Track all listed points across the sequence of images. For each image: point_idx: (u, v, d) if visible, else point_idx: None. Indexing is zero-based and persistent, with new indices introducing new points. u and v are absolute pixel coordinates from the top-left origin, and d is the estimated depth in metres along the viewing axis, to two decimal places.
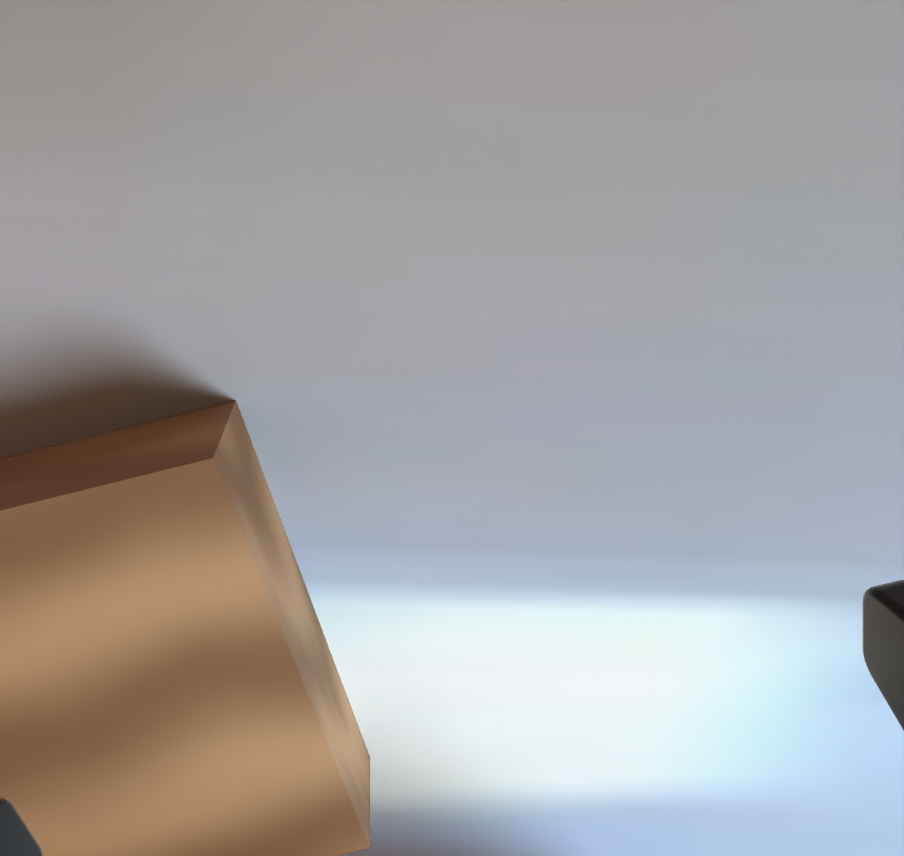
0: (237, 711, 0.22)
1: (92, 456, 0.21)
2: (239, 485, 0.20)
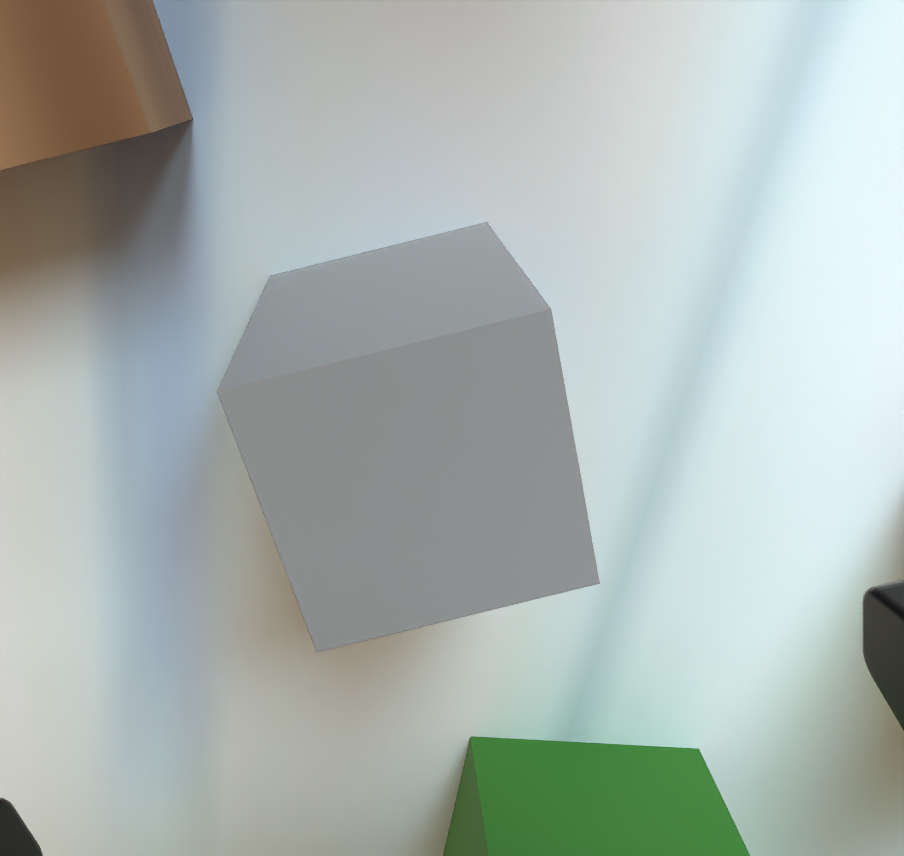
0: None
1: None
2: None
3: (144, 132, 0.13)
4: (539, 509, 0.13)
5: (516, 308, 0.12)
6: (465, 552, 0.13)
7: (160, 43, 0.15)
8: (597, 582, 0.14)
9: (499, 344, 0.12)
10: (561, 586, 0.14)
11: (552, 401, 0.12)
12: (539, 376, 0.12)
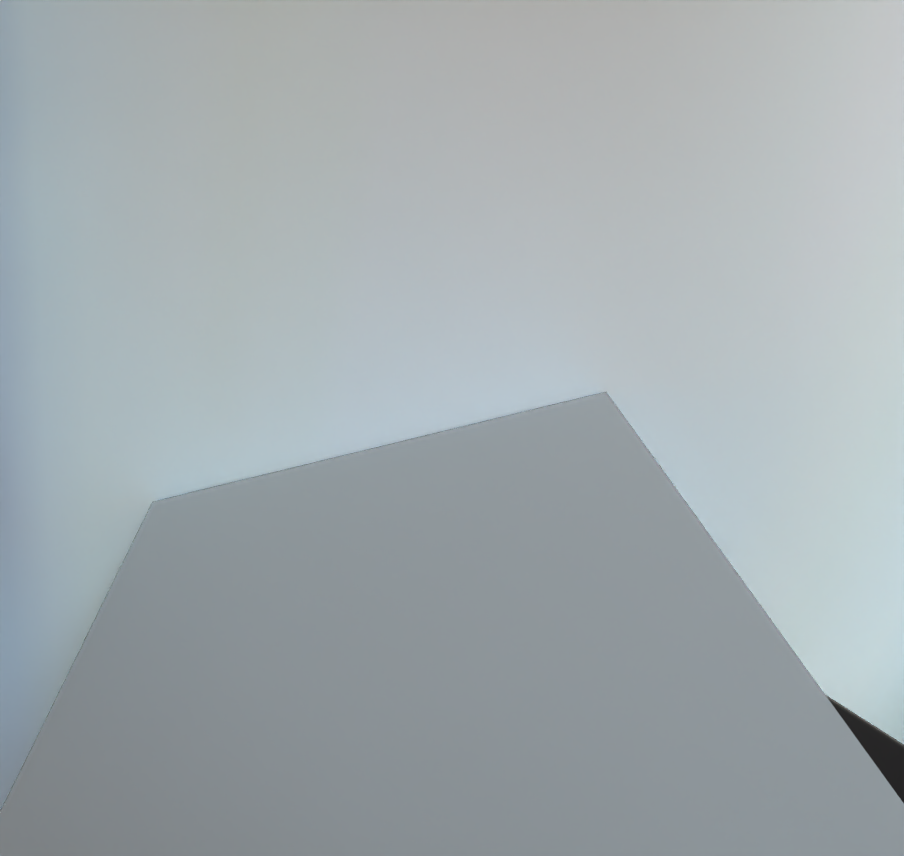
0: None
1: None
2: None
3: None
4: None
5: None
6: None
7: None
8: None
9: None
10: None
11: None
12: None
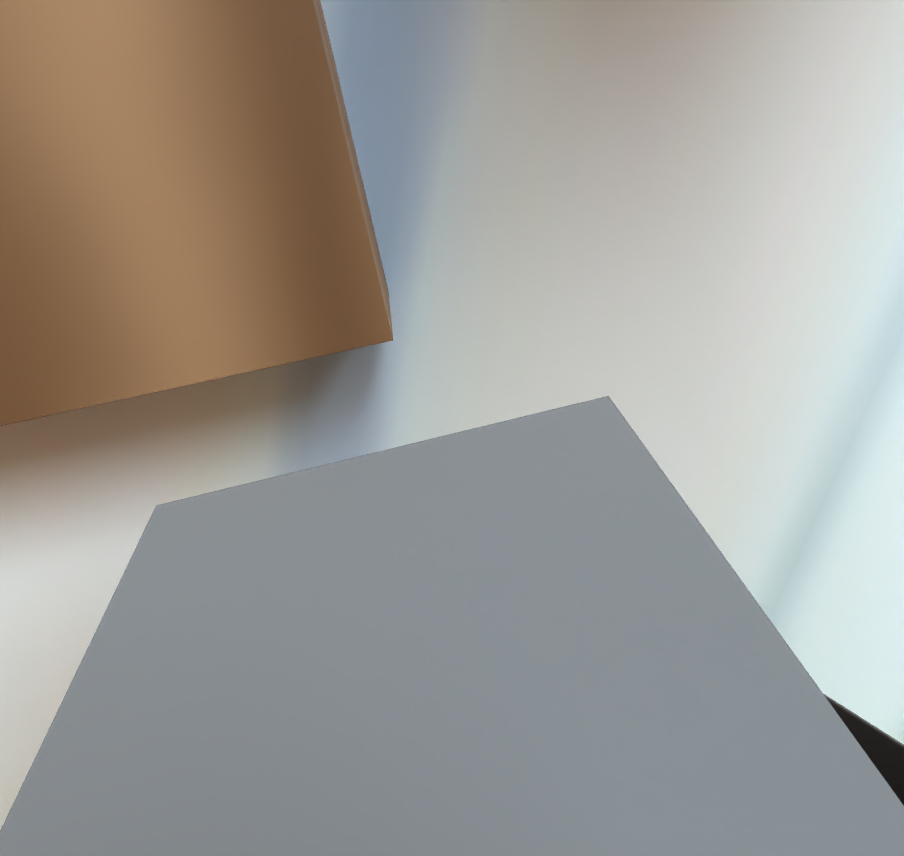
0: None
1: None
2: None
3: (386, 339, 0.15)
4: None
5: None
6: None
7: (373, 232, 0.17)
8: None
9: None
10: None
11: None
12: None
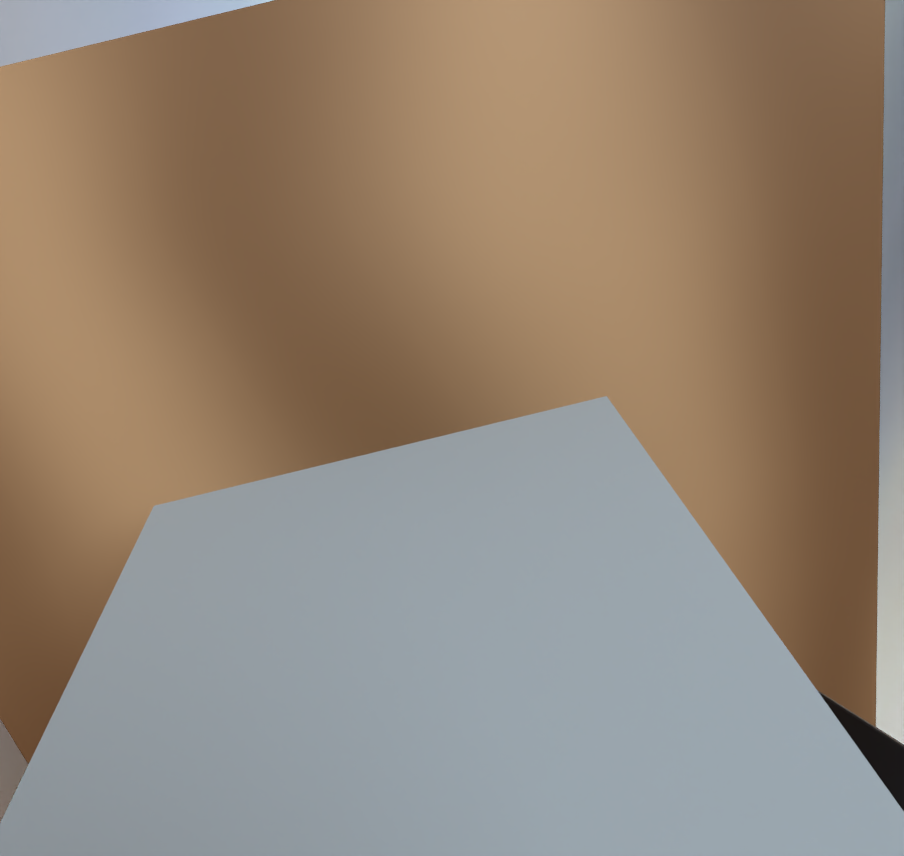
0: (364, 175, 0.10)
1: None
2: None
3: None
4: None
5: None
6: None
7: None
8: None
9: None
10: None
11: None
12: None
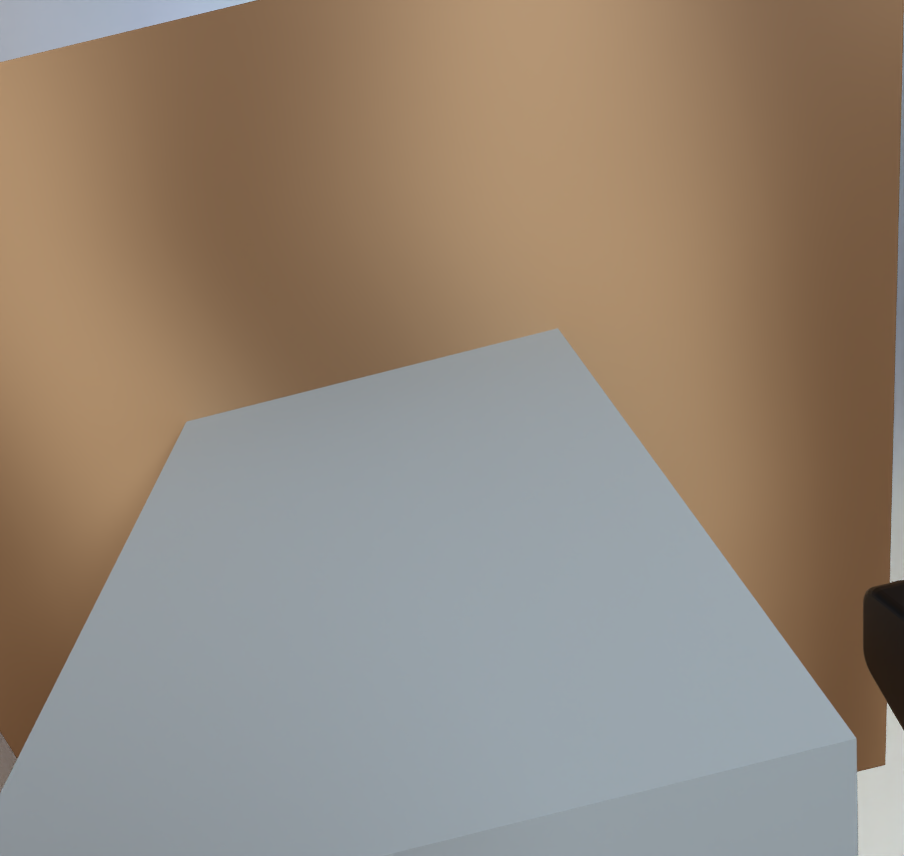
0: (369, 176, 0.09)
1: None
2: None
3: (878, 763, 0.14)
4: None
5: (741, 703, 0.04)
6: None
7: None
8: None
9: (701, 821, 0.04)
10: None
11: None
12: None
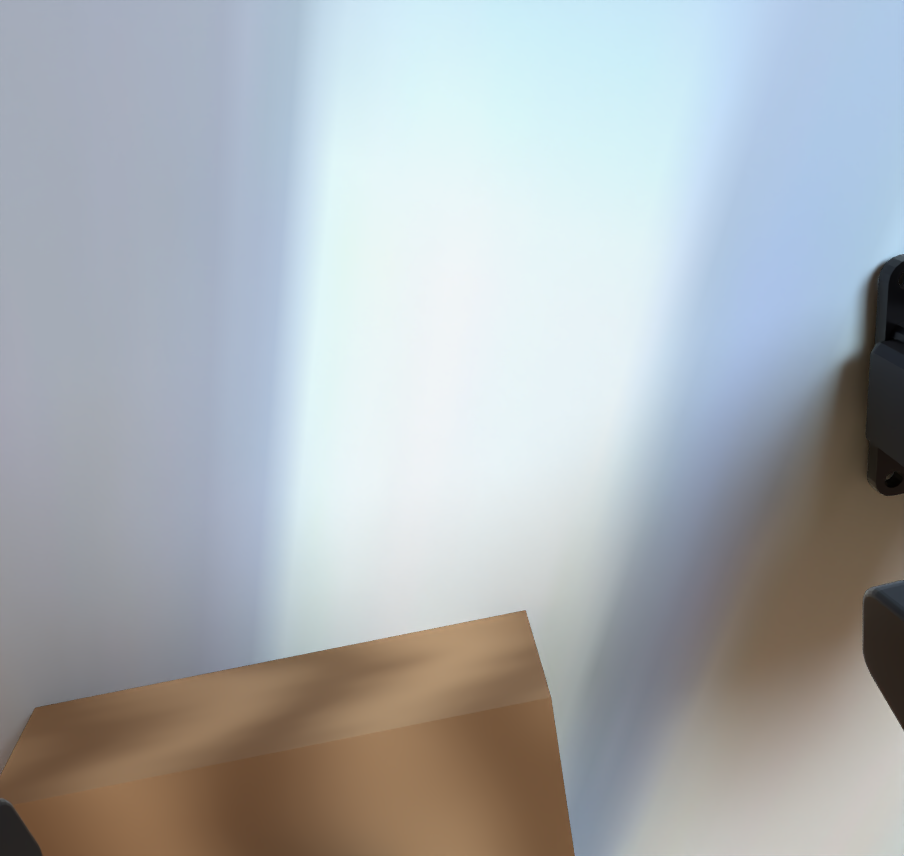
0: (311, 806, 0.20)
1: None
2: (56, 762, 0.20)
3: None
4: None
5: None
6: None
7: None
8: None
9: None
10: None
11: None
12: None
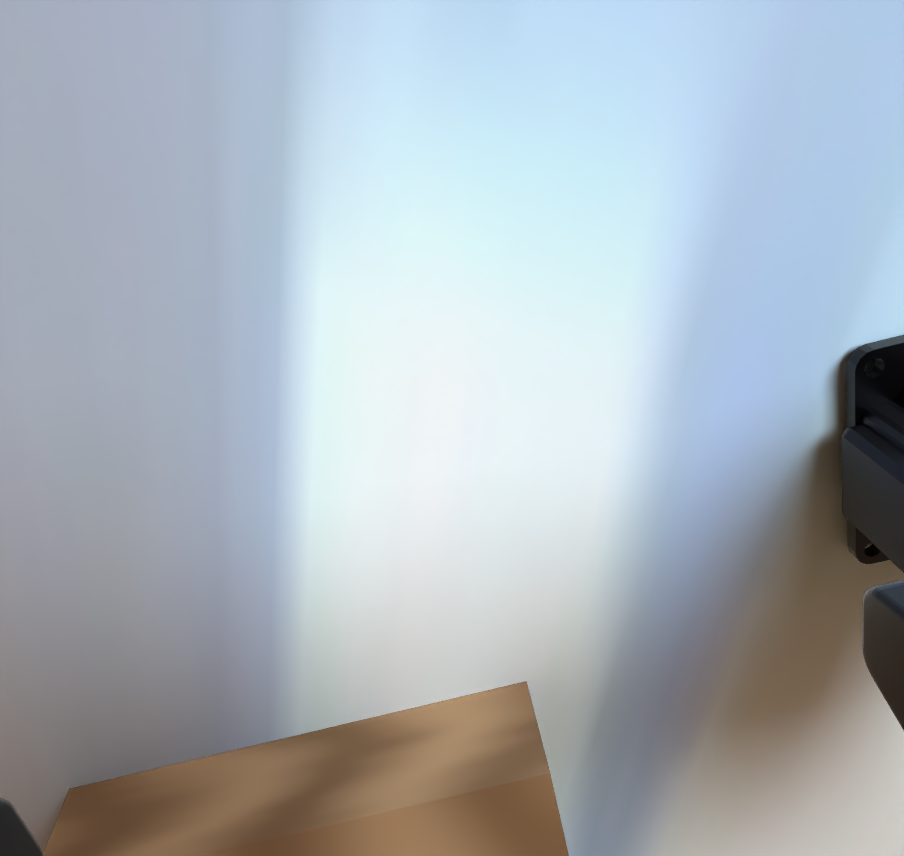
0: None
1: None
2: (91, 845, 0.22)
3: None
4: None
5: None
6: None
7: None
8: None
9: None
10: None
11: None
12: None
